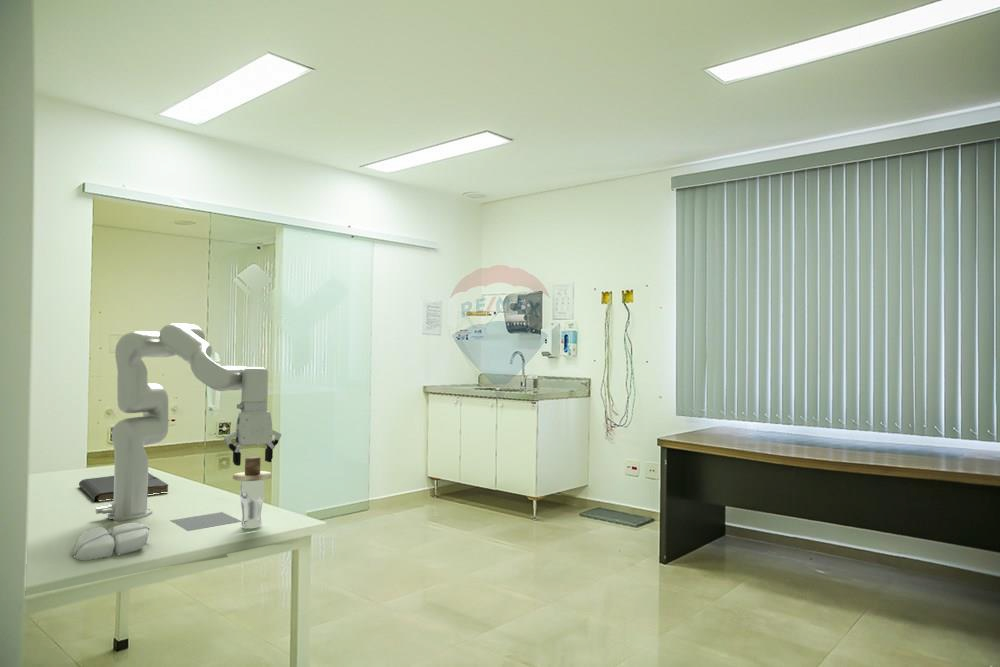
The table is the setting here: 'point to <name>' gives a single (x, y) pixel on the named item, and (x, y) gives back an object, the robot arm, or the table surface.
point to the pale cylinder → (251, 503)
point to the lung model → (111, 541)
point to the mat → (205, 521)
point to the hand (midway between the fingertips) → (253, 463)
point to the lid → (252, 471)
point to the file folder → (105, 486)
